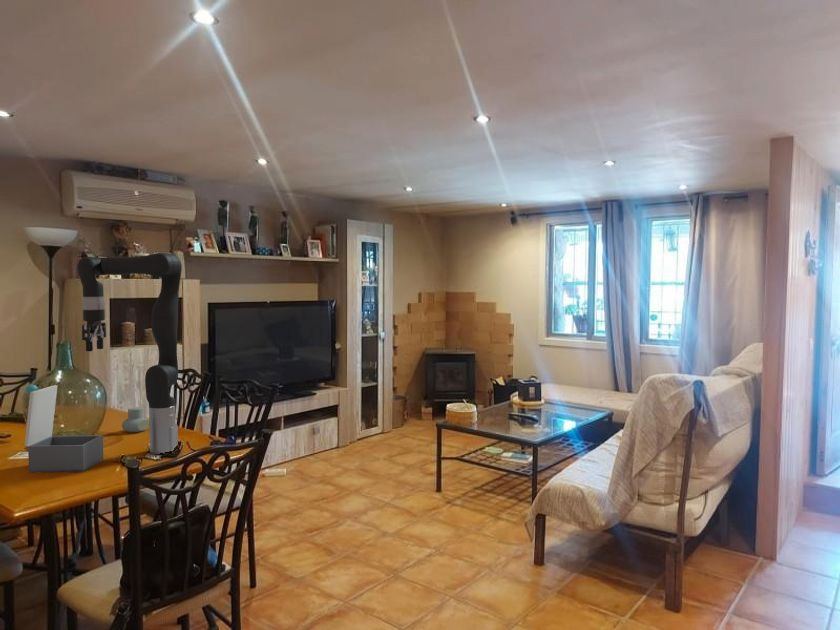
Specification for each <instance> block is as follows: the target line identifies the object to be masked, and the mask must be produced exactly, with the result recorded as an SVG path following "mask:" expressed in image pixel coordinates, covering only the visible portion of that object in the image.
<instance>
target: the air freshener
mask: <svg viewBox="0 0 840 630" xmlns="http://www.w3.org/2000/svg"><path fill="white" fill-rule="evenodd" d="M121 427H122V429H123V430H124V431H125V432H128V433H142V432H144V431H145V430H147V429H149V418H147V417H144V408H143V407H142V406H138V407H137V406H136V407H135V406H134V407H129V408H128V409H127V418H126V419H125V420H124V421H122V423H121Z"/></svg>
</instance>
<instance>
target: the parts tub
mask: <svg viewBox="0 0 840 630" xmlns="http://www.w3.org/2000/svg"><path fill="white" fill-rule="evenodd" d="M27 452H28V453H27V454H28V474H30V473H31V474H33V473H34V474H38V473H37V472H47V473H84V472H86V471H88V470H90V469H91V468H93V467H95V466H96V465H97V464H99V463H101V462H103V461H104V456H105V455H104V435H100V434H99V435H52V436H50V437H48V438H46V439H44V440H41V441H39V442H37V443H34V444H32V445H30V446H28V447H27Z"/></svg>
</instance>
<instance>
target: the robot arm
mask: <svg viewBox="0 0 840 630" xmlns="http://www.w3.org/2000/svg"><path fill="white" fill-rule="evenodd" d="M182 266H183V265H182V261H181V258H180V257H179V256H178V255H177V254H175V253H167V252H157V253H153V254H148V255H143V256H106V257H101V256H99V257H98V256H96V257H95V256H83V257H80V259H79V260H78V262H77V266H76V267H77V268H76V269H77V272H78V277H79V279H80V283H81V285H82V303H81V304H82V321H84V322H86V324H82V325H81V340H82V341H84V342H85V351H86V352H93V351H94V349H93V348H94V341H93V340H94V337H95V338H96V349H97V350H103V349H104V340H105V338H106V337H107V326H106V325H107V323H106V322H102V321H105V320H106V316H105V315H106V312H105V311H106V309H105V299H104V284H103V283H102V282H100V281H98V280H97V279H96V276H108V275H109V276H110V275H111V276H125V275H134V274H142V275H147V276H154V277H158V278H161V282H160V284H161V285H160V286H161V287H160V292H159V295H158V297H157V299H156V301H155V302H154V305H153V307H152V311H151V323H150V324H151V326H150V328H151V332H152V336H153V339H154V341H155V343H156V345H157V349H158V364H156V365H155V364H154V365H152V366H150V367H149V368H148V369H147V370H146V372H145V376H144V385H145V386H144V387H145V398H146V401H147V403H148V420H149V426H148V430H149V436H148V437H149V453H150V454H153V455H159V454H160V453H163V454H166V453H165V452H168V451H173V450H174V448H175V447H176V446H177V445H178V446H179V444H178V443H179V436H178V434H179V432H178V431H179V430H178V429H179V428H178V424H177V423H176V399H175V397H173V396H171V395H170V389H169V387H172V386H174V385H175V384H176V383H177V381H178V378H179V364H178V326H179V296H180V294H179V293H180V292H179V291H180V285H181V277H182V270H183V269H182V268H183V267H182ZM160 455H161V454H160Z"/></svg>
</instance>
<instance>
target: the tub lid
mask: <svg viewBox="0 0 840 630" xmlns="http://www.w3.org/2000/svg"><path fill="white" fill-rule="evenodd" d="M25 393H26V394H27V395H29V403H28V411H27V420H26V428H25V438H24V447H27V448H28V446H30V445H32V444H35V443H37V442H39V441H42V440H44V439H46V438H48V437H51V436H53V429H54V422H55V421H54V419H55V410H56V403H57V393H58V384H57V385H55V384H54V385H50V386H48V387H44V388H39V387H38V386H37V385H35V384H29V385H27V386H26V388H25Z"/></svg>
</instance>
